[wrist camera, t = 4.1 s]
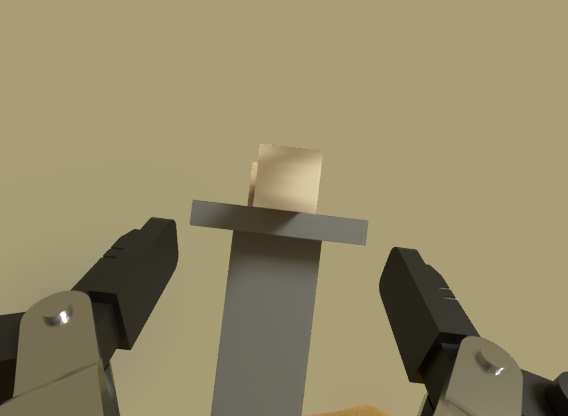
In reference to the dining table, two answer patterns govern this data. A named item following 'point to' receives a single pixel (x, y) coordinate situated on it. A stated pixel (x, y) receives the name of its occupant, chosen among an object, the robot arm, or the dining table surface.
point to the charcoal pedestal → (269, 303)
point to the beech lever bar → (286, 179)
